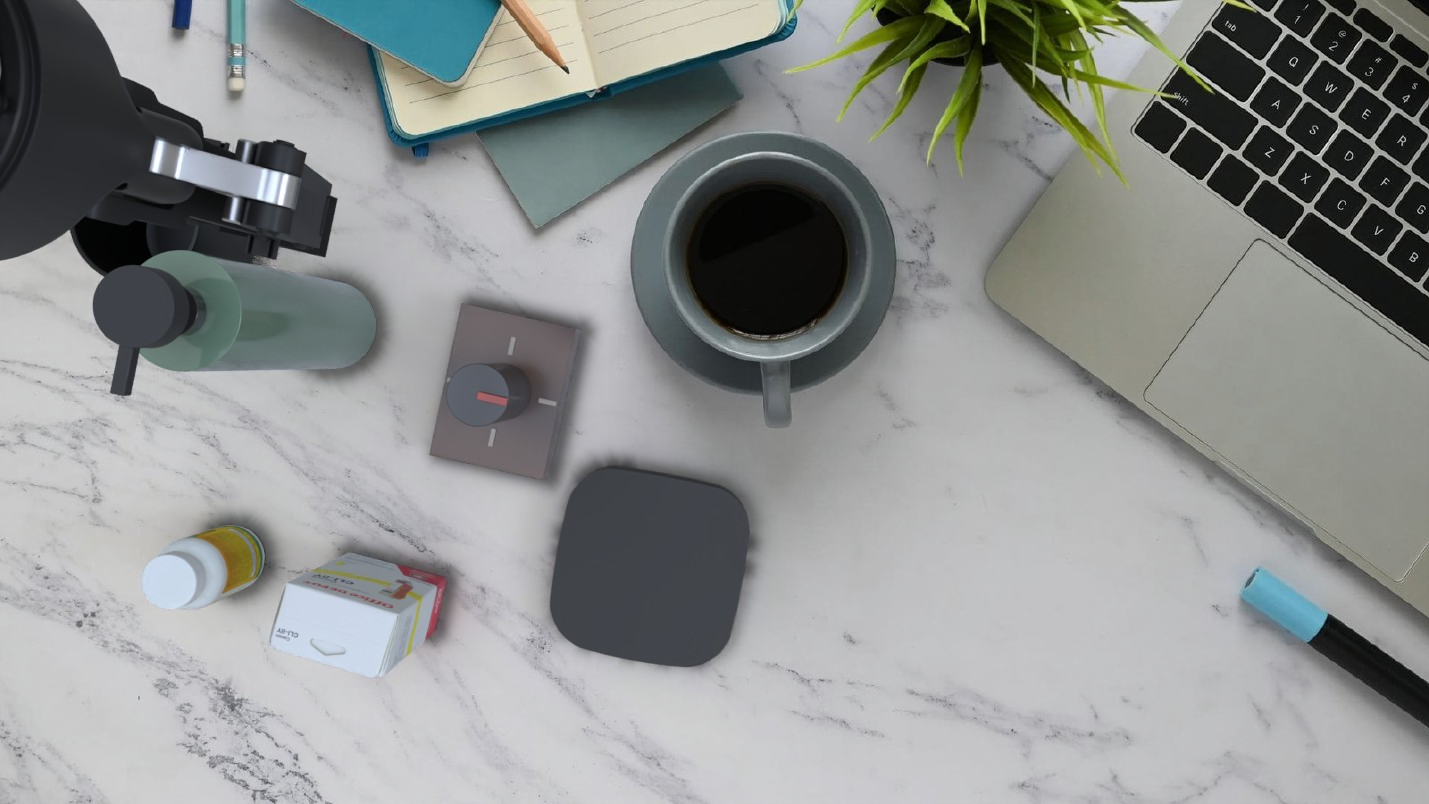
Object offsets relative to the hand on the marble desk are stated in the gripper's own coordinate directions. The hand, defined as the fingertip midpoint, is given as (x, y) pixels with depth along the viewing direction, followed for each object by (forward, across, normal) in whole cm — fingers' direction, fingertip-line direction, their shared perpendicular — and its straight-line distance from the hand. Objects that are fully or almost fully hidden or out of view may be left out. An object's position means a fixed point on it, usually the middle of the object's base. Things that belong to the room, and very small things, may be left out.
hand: (315, 224), depth 44 cm
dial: (+31, -3, +8) cm, 32 cm away
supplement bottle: (+35, +16, +26) cm, 46 cm away
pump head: (+10, +12, +7) cm, 17 cm away
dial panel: (+34, -3, +8) cm, 35 cm away
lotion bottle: (+34, +12, +6) cm, 37 cm away
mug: (+35, +25, +1) cm, 43 cm away
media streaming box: (+35, -17, +19) cm, 43 cm away
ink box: (+35, +3, +26) cm, 43 cm away
